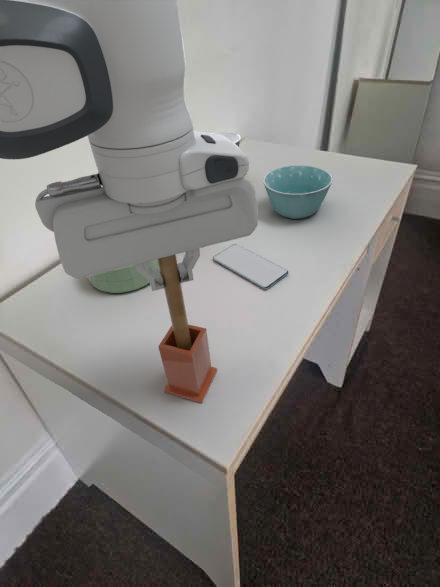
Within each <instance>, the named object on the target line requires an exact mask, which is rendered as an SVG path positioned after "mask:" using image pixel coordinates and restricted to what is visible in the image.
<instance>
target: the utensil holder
mask: <svg viewBox="0 0 440 587" xmlns="http://www.w3.org/2000/svg"><path fill="white" fill-rule="evenodd" d="M188 326H189V331H190V337H191V342H192V348H191V349H190V351H188V350H184V349H180V348H177V344H176V340H175V335H174V331H173V326H172V325H171V326H170V327H169V329H168V331H167V332H166V333H165V335H164V337H163V338H162V340H161V341H160V343H159V344H158V346H157V347H158V351H159V355H160V358H161V363H162V366H163V369H164V373H165V378H166V381H167V383H166V385H165V386H164V388H163V392H164V393H166V394H169V395H172V396H175V397H178V398H183V399H185V400H189V401H193V402H196V403H200V404H203V402H204V401H205V398H206V396H207V394H208V392H209V389H210V387H211V385H212V384H213V382H214V378H215V377H216V374H217V372H218V368H217V367H214V366H212V360H211V352H210V345H209V338H208V331H207V328H205V327H201V326H197V325H193V324H189V323H188Z"/></svg>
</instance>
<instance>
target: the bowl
mask: <svg viewBox="0 0 440 587" xmlns="http://www.w3.org/2000/svg"><path fill="white" fill-rule="evenodd" d="M262 182H263V186H264V189H265V191H266V194H267V197H268V199H269V201H270V204H271V207H272V209H273V211H274V212H276V213H277V214H278V215H280V216H282V217H284V218H287V219H292V220H293V219H294V220H299V219H300V220H301V219H306V218H308V217H310V216H312V215H313V214H315V213H317V212H318V211H319V209H320V208H321V206H322V204H323V202H324V200H325V199H326V196H327V194H328V192H329V190H330V188H331V185H332V183H333V176H332V174H331V173H330V172H329V171H327V170H326V169H323V168H321V167H318V166H312V165H306V164H305V165H304V164H302V165H301V164H293V165H286V166H281V167H280V166H279V167H276V168H275V169H272V170H270V171H268V172H267V173H266V174H265V175H264V177H263V180H262Z"/></svg>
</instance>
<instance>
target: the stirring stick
mask: <svg viewBox="0 0 440 587" xmlns="http://www.w3.org/2000/svg"><path fill="white" fill-rule="evenodd" d="M158 263H159V268H160V272H161V274H162V277H163V281H164V285H165V288H163V290H164V295H165V298H166V304H167V308H168V312H169V313H168V314H169V317H170V321H171V326H173V331H174V335H175V340H176V344H177V348H180V349H184V350H188V351H190V349H191V348H192V342H191V337H190V331H189V326H188V324H189V321H188V320H189V319H188V315H187V310H186V304H185V298H184V292H183V287H182V283H181V282H180V276H179V271H178V265H177V264H178V260H177V254H175V255H171V256H167V257H163V258H159V259H158Z"/></svg>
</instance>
